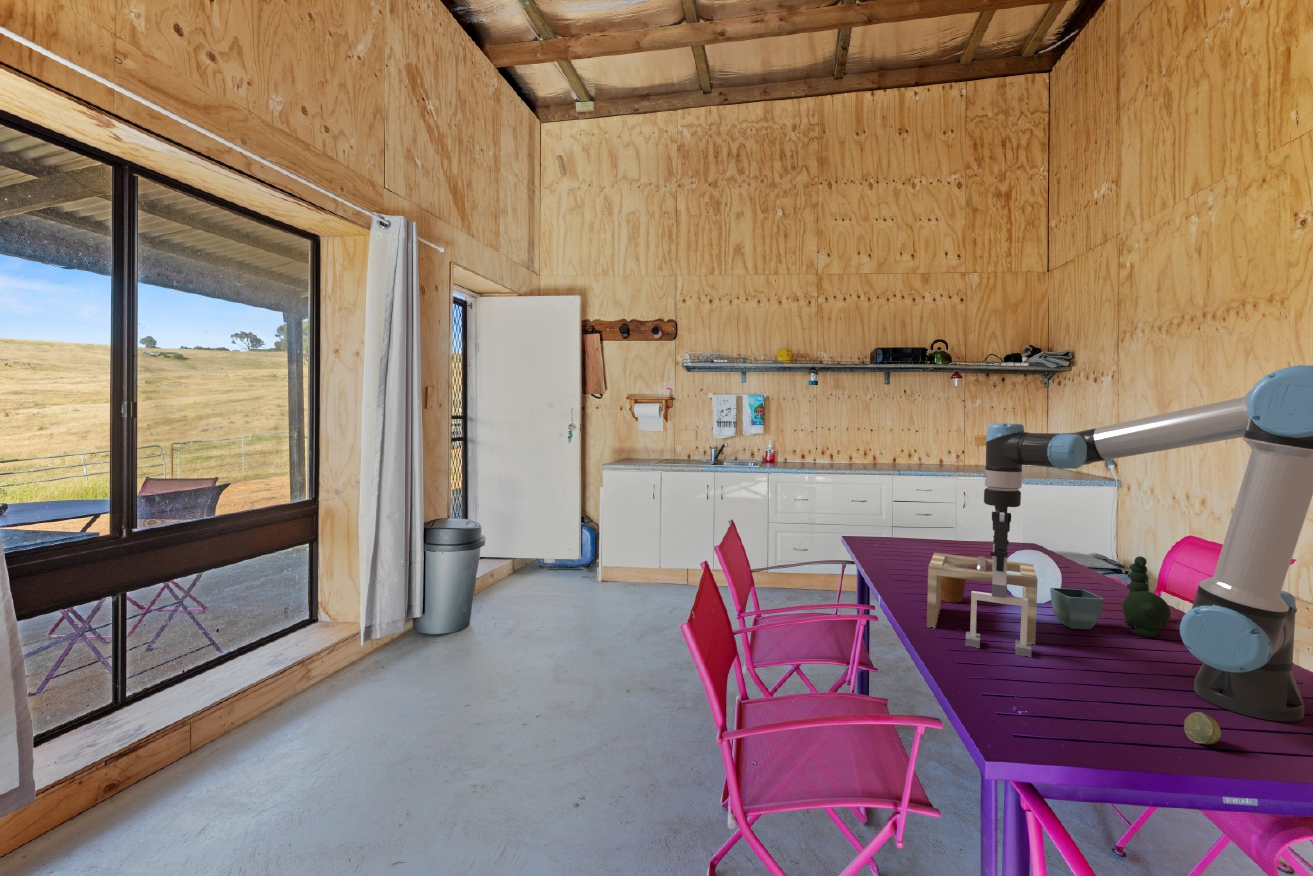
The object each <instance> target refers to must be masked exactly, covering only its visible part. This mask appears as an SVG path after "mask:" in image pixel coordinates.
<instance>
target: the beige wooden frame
mask: <svg viewBox="0 0 1313 876" xmlns="http://www.w3.org/2000/svg"><path fill="white" fill-rule="evenodd" d="M992 562H993V558H986V557H985V556H983V555H980V556H977V557H974V556H965V555H957V554H956V555H955V554H949V553H939V552H937V553H936V552H934V553H933V555H932V557H931V560H930V562H929V564H928V569H927V601H926V602H927V605H926V606H927V607H926V610H927V611H926V627H927V628H930V627H933V628H932V629H936V627H937V623H938V620H937V619H939V616H938V615H940V612H939V611H941V604H942V603H941V601H942V600H941V576H946V577H954V578H962V579H966V580H972V581H978V582H988V583H992V577H993V571H992V570H991V571H990V570H986V569H992ZM945 563H946V564H955V565H963V566H969V567H973V568H976V569H973V568H968V569H966V568H958V567H949V566H944V564H945ZM1007 572H1014V573H1015V572H1016V573H1020V574H1014V573H1007V574H1006V579H1007V585H1011V586H1018V587H1022V590H1023V591H1022V598H1028V616H1027V642H1030V644H1034V645H1033V646H1036V632H1037V609H1038V608H1037V605H1038V602H1037V601H1038V581H1039V579H1038V577H1037V574H1036V573H1037V572H1036V569H1035V566H1034V564H1033V563H1029V562H1020V561H1011V560H1010V561H1009V560H1007Z"/></svg>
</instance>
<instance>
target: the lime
mask: <svg viewBox="0 0 1313 876" xmlns="http://www.w3.org/2000/svg"><path fill="white" fill-rule="evenodd" d="M1183 730H1184V732H1185V734H1186V736H1187V738H1188V739H1189V740H1190V741H1191V742H1194V743H1196V744H1201V745H1213V744H1216V743H1218V741H1220V739H1221V737H1222V730H1221V728H1220V725H1219V723H1218V722H1217V720H1215V718H1213V717H1212V716H1210V715H1209V714H1207V713H1206V712H1202V711H1196V712H1191V713H1189V715H1187V717H1185V719H1184V724H1183Z"/></svg>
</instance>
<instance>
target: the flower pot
mask: <svg viewBox="0 0 1313 876" xmlns="http://www.w3.org/2000/svg"><path fill="white" fill-rule="evenodd" d="M1049 591H1050V601H1051V608H1052V611H1053V613H1054V616H1055V617H1056V619H1057V620H1058V621H1059V623H1061V624H1062V625H1064V626H1066V627H1067V628H1069V629H1073V630H1075V629H1076V630H1091V629H1092V628H1093V627H1094V626H1095V625H1097V622H1098V621H1099V619H1100V617H1101V613H1102V608H1103V604H1104V598H1103V597H1101V596H1099V595H1096V594H1095V593H1092V592H1090V591H1088V590H1085V589H1082V588H1067V587H1066V588H1065V587H1049Z"/></svg>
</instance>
